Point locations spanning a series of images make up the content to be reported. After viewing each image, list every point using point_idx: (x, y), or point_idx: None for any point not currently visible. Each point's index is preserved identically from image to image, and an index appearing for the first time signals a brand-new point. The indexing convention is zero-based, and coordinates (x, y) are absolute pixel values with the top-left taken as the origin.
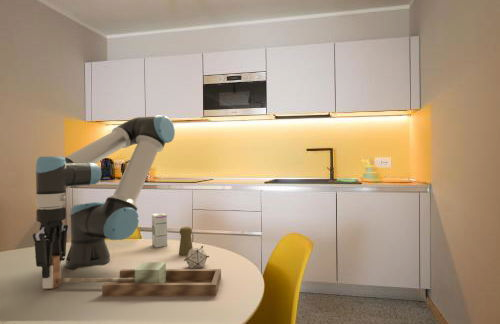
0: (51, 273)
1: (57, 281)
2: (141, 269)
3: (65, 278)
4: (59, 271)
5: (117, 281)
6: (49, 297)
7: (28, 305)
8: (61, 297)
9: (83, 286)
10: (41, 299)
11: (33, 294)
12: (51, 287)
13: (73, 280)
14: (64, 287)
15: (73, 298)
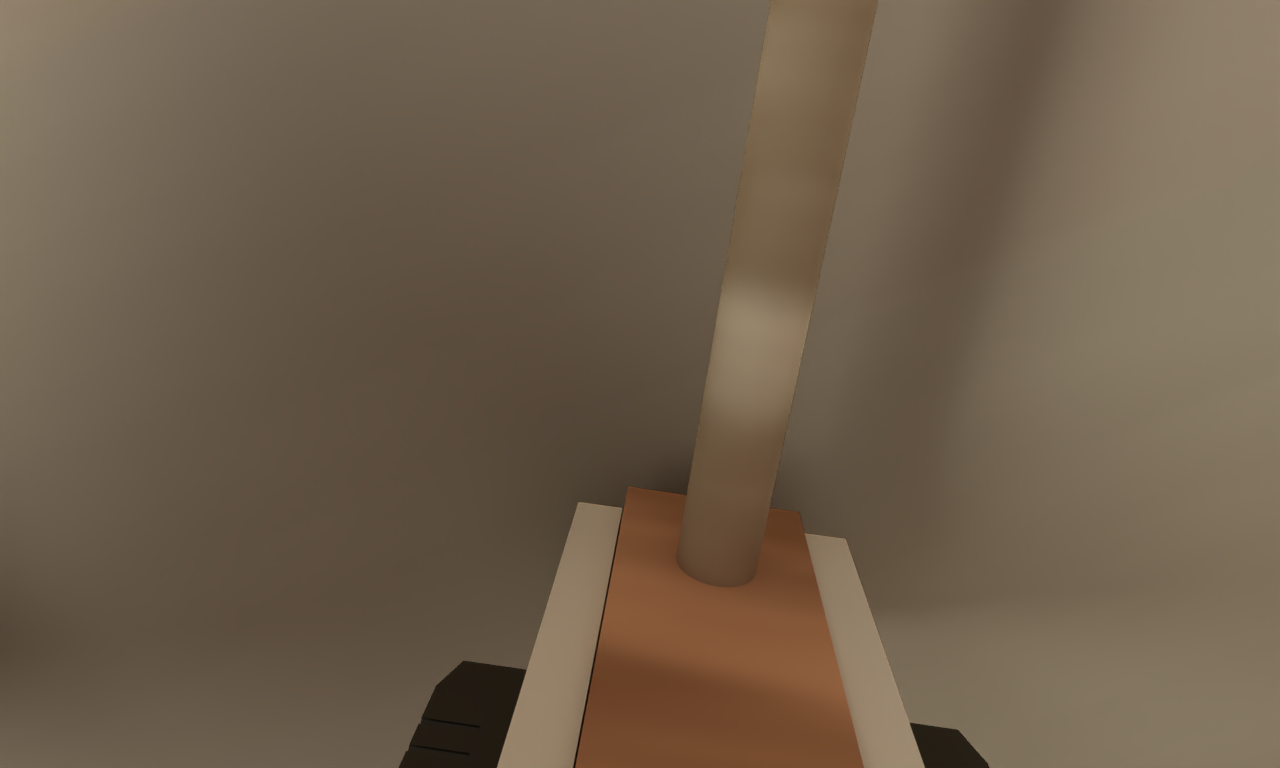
0: (911, 743)
1: (762, 531)
2: None
3: (757, 412)
4: (615, 645)
5: None
6: (993, 464)
7: (1220, 618)
8: (1055, 277)
9: (593, 82)
10: (1041, 543)
11: None
12: (845, 550)
13: (831, 204)
14: (599, 407)
15: (1184, 29)
